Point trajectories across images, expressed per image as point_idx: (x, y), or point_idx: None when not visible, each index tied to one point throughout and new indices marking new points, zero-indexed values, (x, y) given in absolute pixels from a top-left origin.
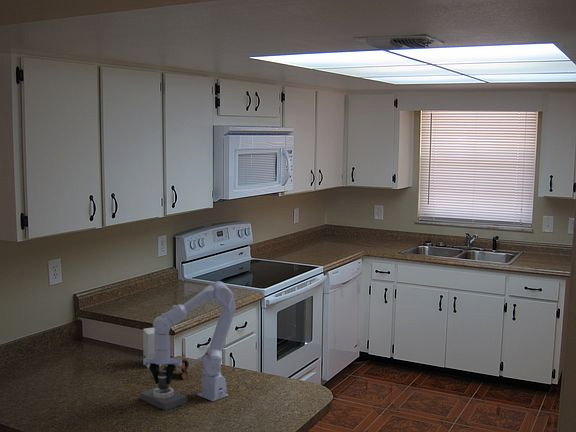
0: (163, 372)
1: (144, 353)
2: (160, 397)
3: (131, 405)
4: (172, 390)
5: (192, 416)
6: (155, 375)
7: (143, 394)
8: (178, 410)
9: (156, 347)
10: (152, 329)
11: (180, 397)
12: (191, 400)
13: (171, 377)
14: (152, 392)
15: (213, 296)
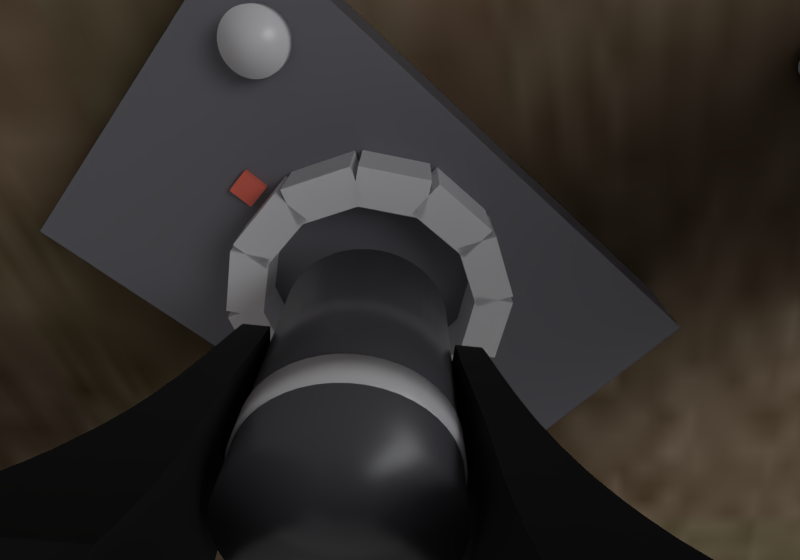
0: (358, 550)
1: None
2: None
3: (82, 359)
4: (497, 299)
5: (690, 532)
6: (209, 556)
7: (112, 274)
8: (566, 444)
9: None
10: None
11: (599, 358)
12: (700, 225)
13: (515, 397)
14: (203, 221)
15: None
